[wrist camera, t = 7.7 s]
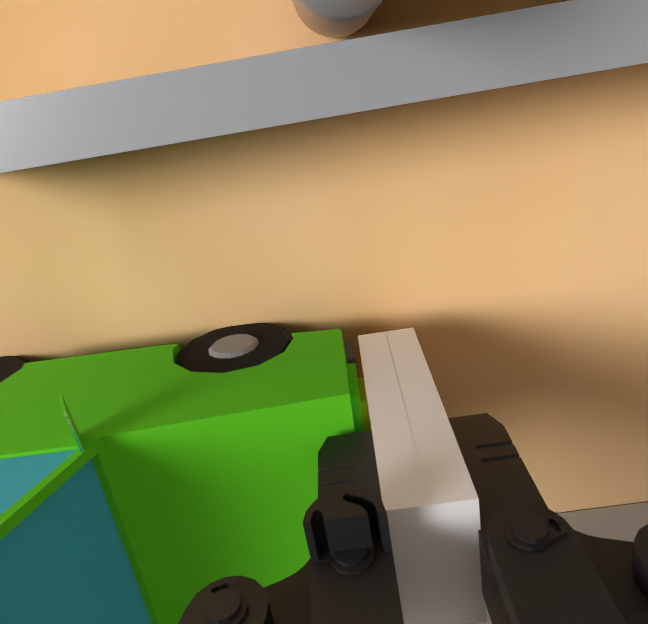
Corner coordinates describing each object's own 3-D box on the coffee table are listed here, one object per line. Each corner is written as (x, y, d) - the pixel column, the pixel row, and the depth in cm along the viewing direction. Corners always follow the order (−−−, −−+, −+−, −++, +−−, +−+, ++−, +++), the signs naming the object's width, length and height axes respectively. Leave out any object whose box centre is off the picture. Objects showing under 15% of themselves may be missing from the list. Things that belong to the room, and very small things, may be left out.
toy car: (384, 543, 19) (443, 961, 10) (20, 584, 20) (-238, 1014, 11) (349, 269, 16) (392, 541, 6) (-101, 330, 16) (-664, 659, 7)
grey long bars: (136, 593, 20) (94, 707, 16) (-52, 121, 14) (-188, 134, 10) (822, 507, 19) (945, 610, 15) (953, -56, 13) (1218, -115, 9)
